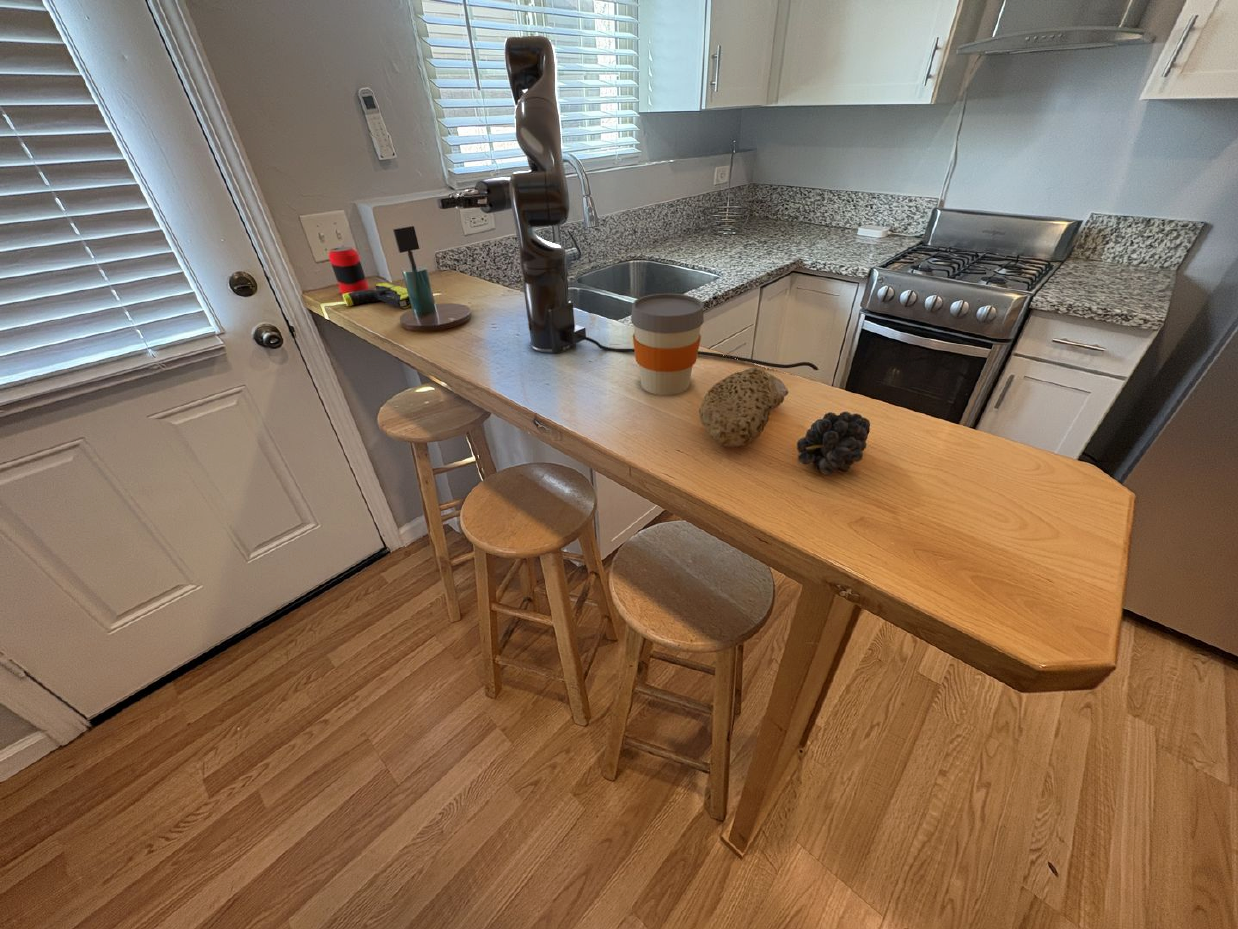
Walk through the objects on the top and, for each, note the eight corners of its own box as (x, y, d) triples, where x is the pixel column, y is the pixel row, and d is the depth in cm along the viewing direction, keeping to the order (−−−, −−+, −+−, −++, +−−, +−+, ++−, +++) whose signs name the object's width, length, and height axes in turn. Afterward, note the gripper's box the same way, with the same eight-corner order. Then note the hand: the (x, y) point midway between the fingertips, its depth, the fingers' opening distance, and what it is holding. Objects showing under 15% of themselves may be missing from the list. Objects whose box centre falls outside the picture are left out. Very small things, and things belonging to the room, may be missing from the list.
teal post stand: (484, 316, 123) (468, 228, 111) (424, 336, 113) (399, 241, 101) (446, 303, 132) (427, 220, 121) (388, 320, 122) (361, 232, 110)
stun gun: (370, 306, 124) (422, 292, 134) (335, 293, 134) (386, 280, 144) (374, 318, 126) (425, 303, 135) (339, 303, 136) (389, 290, 145)
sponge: (733, 396, 90) (665, 416, 76) (750, 357, 85) (682, 371, 72) (793, 434, 83) (732, 463, 70) (815, 394, 79) (754, 417, 66)
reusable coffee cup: (675, 406, 85) (679, 321, 76) (618, 387, 91) (616, 307, 82) (710, 380, 93) (718, 300, 84) (655, 364, 99) (657, 289, 90)
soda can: (352, 288, 149) (338, 245, 142) (374, 288, 147) (361, 246, 140) (336, 295, 143) (320, 251, 136) (359, 296, 141) (344, 252, 134)
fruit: (859, 379, 71) (808, 414, 63) (909, 413, 68) (862, 455, 60) (828, 421, 78) (777, 458, 69) (872, 454, 75) (825, 497, 66)
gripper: (479, 176, 129) (420, 184, 118) (511, 179, 122) (451, 187, 111) (484, 208, 133) (428, 218, 123) (516, 213, 126) (458, 224, 115)
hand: (439, 203), depth 117 cm, fingers closed
